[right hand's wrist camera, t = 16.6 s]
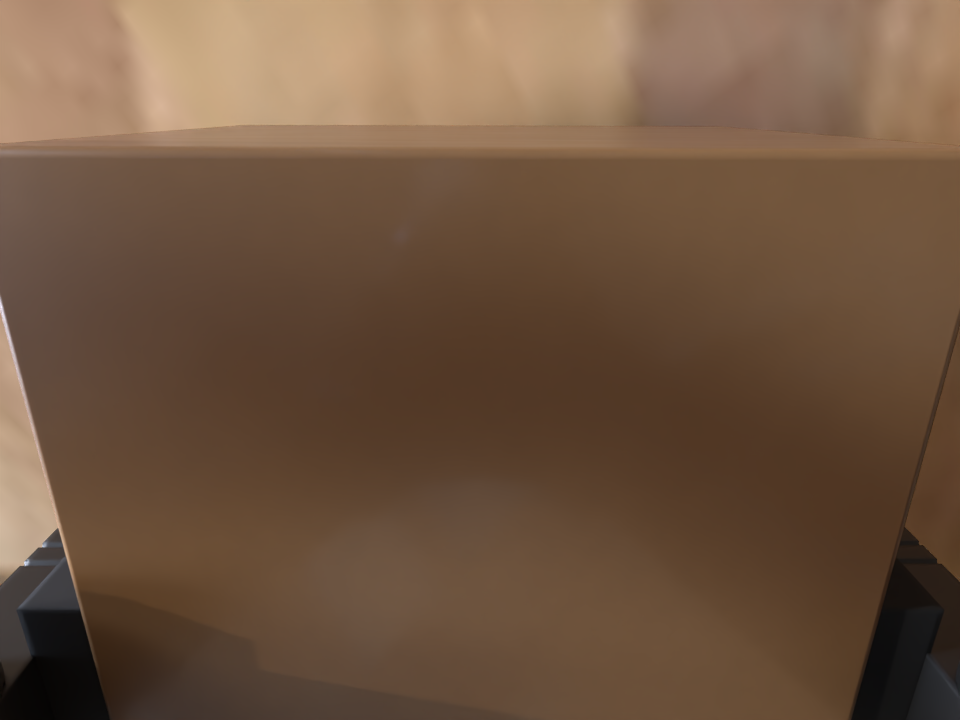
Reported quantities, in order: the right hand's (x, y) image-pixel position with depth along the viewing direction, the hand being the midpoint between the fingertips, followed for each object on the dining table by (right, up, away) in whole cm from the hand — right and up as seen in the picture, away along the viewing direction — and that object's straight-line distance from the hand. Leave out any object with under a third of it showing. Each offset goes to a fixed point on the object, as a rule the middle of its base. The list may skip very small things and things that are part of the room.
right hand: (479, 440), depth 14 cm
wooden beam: (0, -25, +10) cm, 27 cm away
